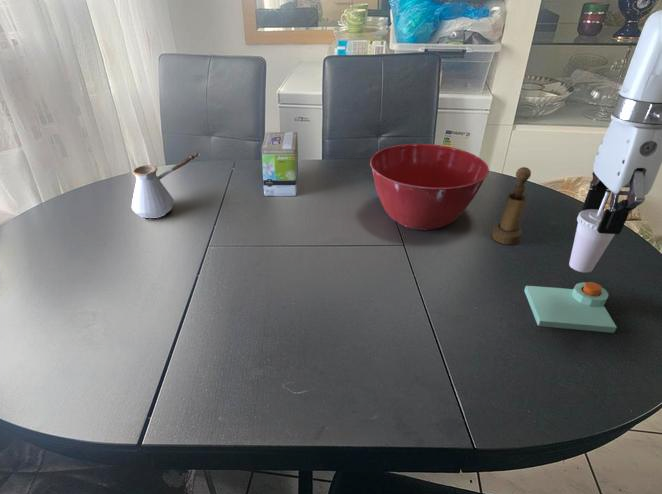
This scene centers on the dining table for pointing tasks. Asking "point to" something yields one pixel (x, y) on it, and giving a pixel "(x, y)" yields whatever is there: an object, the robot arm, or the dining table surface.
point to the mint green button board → (570, 308)
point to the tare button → (592, 289)
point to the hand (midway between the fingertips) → (599, 221)
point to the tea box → (280, 163)
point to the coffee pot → (153, 191)
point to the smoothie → (589, 239)
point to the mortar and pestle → (513, 212)
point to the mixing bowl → (426, 183)
